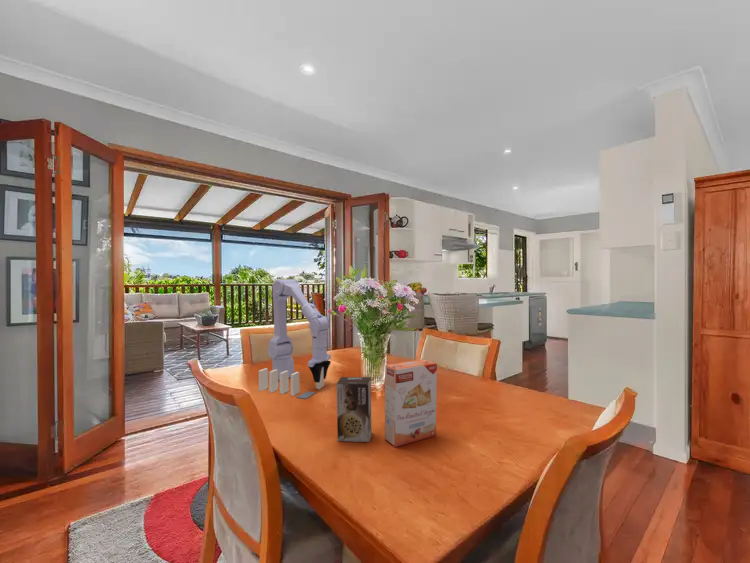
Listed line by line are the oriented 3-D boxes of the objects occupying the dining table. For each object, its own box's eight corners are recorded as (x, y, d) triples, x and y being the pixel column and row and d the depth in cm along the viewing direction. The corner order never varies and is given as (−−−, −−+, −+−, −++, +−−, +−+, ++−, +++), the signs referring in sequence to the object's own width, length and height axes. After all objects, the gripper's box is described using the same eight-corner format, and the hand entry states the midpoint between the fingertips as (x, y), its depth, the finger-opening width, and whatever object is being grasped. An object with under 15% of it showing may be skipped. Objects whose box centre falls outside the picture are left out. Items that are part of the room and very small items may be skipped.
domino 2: (275, 389, 140) (275, 369, 140) (278, 389, 140) (278, 369, 140) (269, 392, 137) (268, 371, 137) (271, 392, 136) (271, 372, 136)
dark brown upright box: (372, 432, 102) (371, 376, 101) (369, 442, 95) (369, 383, 95) (341, 431, 102) (340, 376, 102) (336, 441, 96) (336, 382, 96)
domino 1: (265, 387, 142) (265, 368, 142) (267, 388, 142) (267, 368, 142) (258, 390, 139) (258, 370, 138) (261, 391, 138) (261, 370, 138)
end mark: (306, 392, 137) (306, 391, 137) (315, 393, 135) (315, 392, 135) (296, 397, 130) (296, 397, 130) (305, 399, 129) (305, 398, 129)
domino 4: (296, 392, 137) (296, 371, 137) (299, 392, 136) (299, 372, 136) (290, 395, 133) (290, 374, 133) (293, 395, 133) (293, 374, 132)
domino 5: (321, 386, 144) (321, 366, 144) (323, 386, 144) (323, 366, 144) (316, 389, 140) (315, 369, 140) (318, 389, 140) (318, 369, 140)
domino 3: (286, 390, 139) (285, 370, 138) (288, 391, 138) (288, 370, 138) (279, 393, 135) (279, 373, 135) (282, 394, 134) (282, 373, 134)
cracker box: (396, 448, 92) (395, 369, 91) (384, 439, 97) (383, 364, 97) (437, 436, 99) (437, 362, 98) (424, 428, 104) (424, 358, 104)
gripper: (318, 351, 134) (319, 386, 134) (336, 344, 147) (337, 376, 147) (303, 350, 136) (303, 384, 136) (322, 343, 150) (322, 374, 150)
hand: (319, 380), depth 142 cm, fingers closed on domino 5, 4 cm apart
